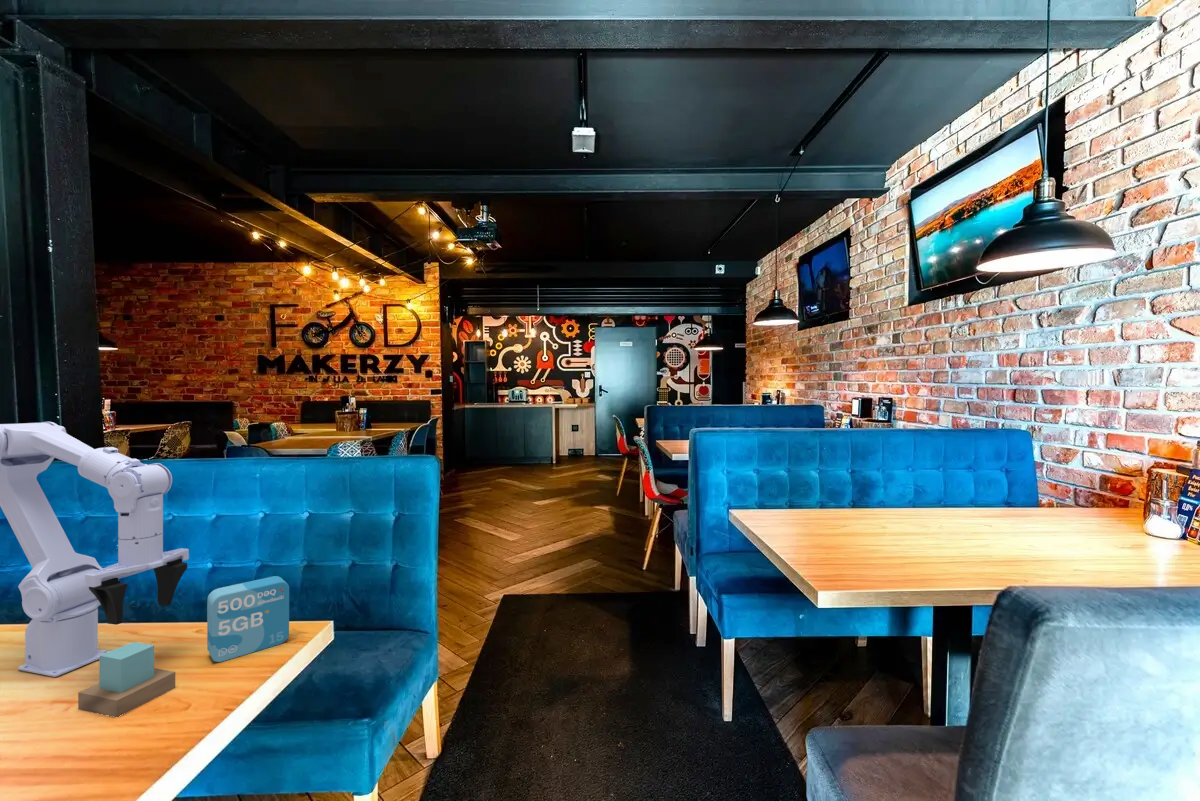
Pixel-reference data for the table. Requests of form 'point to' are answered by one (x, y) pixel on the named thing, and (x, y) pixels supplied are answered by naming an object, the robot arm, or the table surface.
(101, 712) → the walnut block
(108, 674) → the teal block
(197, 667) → the table surface
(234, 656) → the data package
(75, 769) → the table surface
